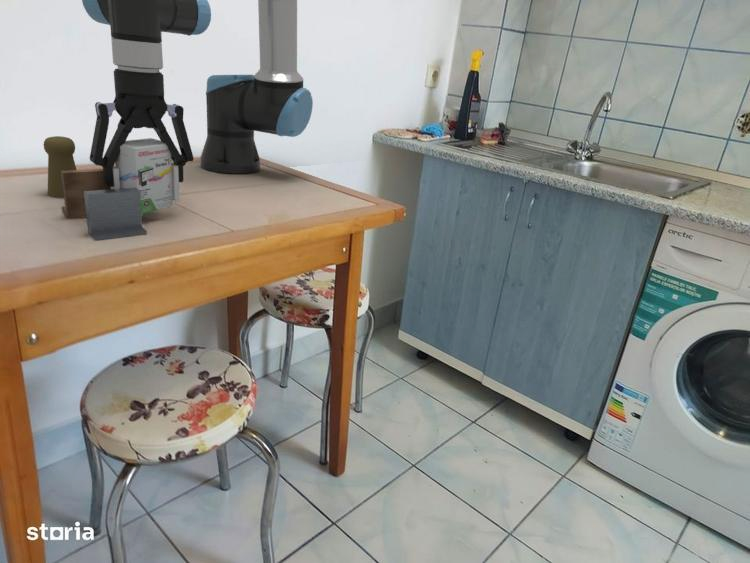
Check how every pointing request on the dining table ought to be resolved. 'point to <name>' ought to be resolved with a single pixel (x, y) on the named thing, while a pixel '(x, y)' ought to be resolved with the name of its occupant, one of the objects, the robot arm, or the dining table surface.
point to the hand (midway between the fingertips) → (146, 201)
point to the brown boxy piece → (80, 189)
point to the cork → (58, 162)
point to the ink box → (147, 172)
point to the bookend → (114, 213)
